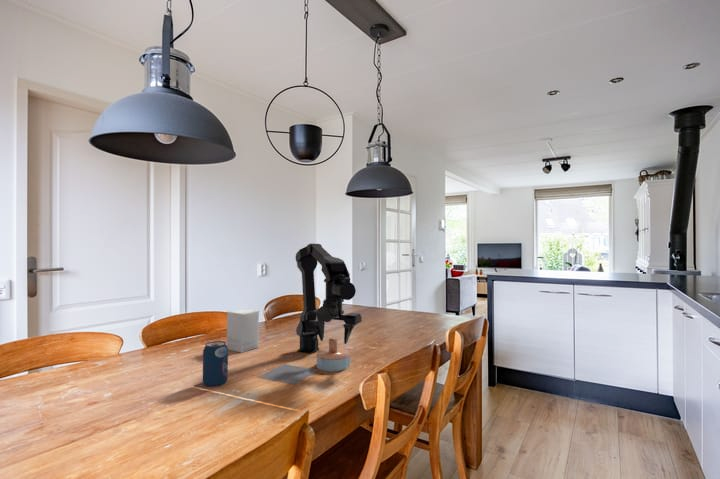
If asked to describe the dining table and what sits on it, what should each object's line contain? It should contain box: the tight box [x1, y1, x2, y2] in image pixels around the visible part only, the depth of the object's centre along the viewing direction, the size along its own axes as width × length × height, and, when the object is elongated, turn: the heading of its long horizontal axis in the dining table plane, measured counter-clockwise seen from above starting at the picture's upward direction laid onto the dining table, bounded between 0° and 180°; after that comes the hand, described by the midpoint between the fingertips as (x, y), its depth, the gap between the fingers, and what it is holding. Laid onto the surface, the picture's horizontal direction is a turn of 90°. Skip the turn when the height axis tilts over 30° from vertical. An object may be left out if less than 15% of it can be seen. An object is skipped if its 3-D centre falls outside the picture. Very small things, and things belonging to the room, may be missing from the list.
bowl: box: [316, 354, 351, 372], centre depth 127 cm, size 11×11×4 cm
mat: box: [257, 363, 320, 385], centre depth 118 cm, size 14×14×1 cm
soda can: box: [202, 340, 229, 387], centre depth 110 cm, size 7×7×12 cm
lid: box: [316, 337, 350, 360], centre depth 127 cm, size 11×11×6 cm
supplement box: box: [226, 308, 260, 353], centre depth 148 cm, size 9×9×15 cm
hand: (333, 342), depth 127 cm, fingers open, 9 cm apart
